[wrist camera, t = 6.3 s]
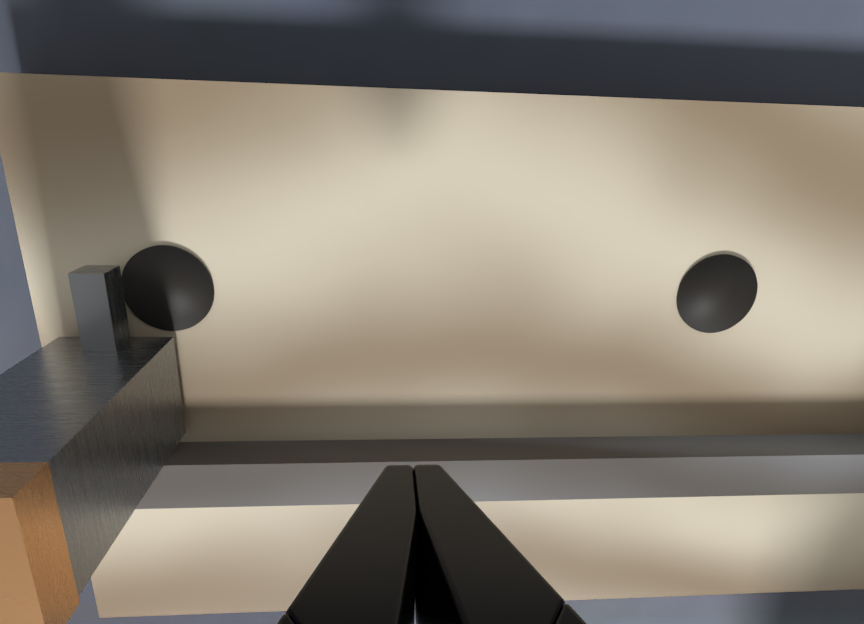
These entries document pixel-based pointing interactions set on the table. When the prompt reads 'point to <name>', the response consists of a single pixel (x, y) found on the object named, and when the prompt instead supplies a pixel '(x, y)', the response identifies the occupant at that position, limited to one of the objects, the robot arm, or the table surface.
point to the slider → (79, 448)
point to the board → (467, 323)
